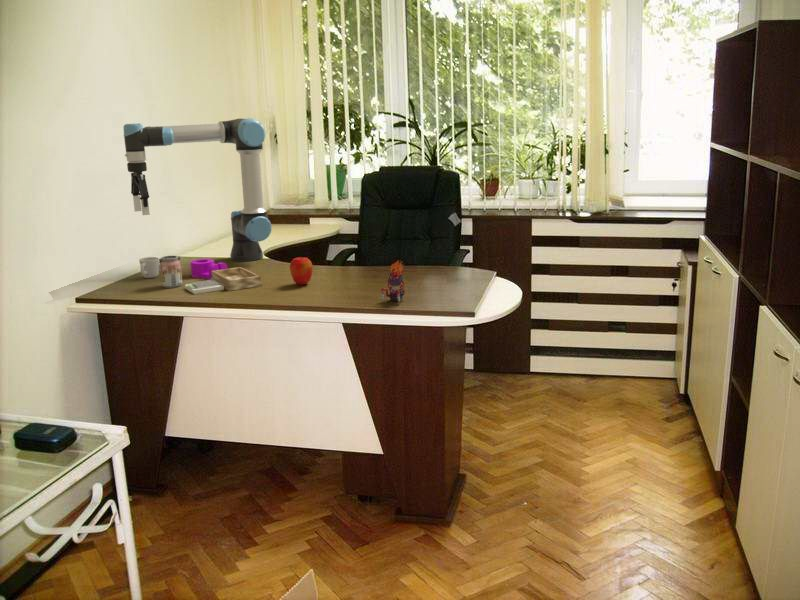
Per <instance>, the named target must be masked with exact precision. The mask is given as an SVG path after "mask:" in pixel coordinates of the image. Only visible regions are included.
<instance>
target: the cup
mask: <svg viewBox="0 0 800 600" xmlns="http://www.w3.org/2000/svg"><path fill="white" fill-rule="evenodd" d="M159 259H160V258H159V257H157V256H149V257H148V256H146V257H143V258H139V265H140V273H141V274H142V277H143V278H145V279H153V278H158V277H159V273H160V272H159V271H160V263H159Z"/></svg>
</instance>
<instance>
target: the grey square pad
mask: <svg viewBox="0 0 800 600" xmlns="http://www.w3.org/2000/svg"><path fill="white" fill-rule="evenodd" d="M190 284H191V285H192V286H194V287H195V288H197V289H199V288H206V287H212V286H217V283H215V282H214V281H212V280H211V279H206V280H200V281H193V282H192V281H191V282H190Z"/></svg>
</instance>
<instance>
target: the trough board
mask: <svg viewBox="0 0 800 600" xmlns="http://www.w3.org/2000/svg"><path fill="white" fill-rule="evenodd" d="M211 272H212V278H211V279H210V280H212V281H217V282H218V283H220V284H221V285H223V286H224V290H227V291H229V292H230V291H236V290H237V291H238V290H242V289H248V288H256V287H263V283H262V280H261V276H260V275H258V274H257V273H254V272H252V271H250V270H248V269H247V268H244V267H243V266H238V267H231V268H227V269H223V270H216V271H211Z"/></svg>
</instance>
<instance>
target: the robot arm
mask: <svg viewBox="0 0 800 600" xmlns="http://www.w3.org/2000/svg"><path fill="white" fill-rule="evenodd" d="M123 139H124V146H125V154H124V156H125V158H126V161H127V163H126V164H127V165H126V166H127V171H128V172H129V173H130V177H131V179H130V180H131V183H130V184H131V185H130V190H131V191H130V193H131V194H132V195H131V196H132V197H133V198H132V199H133V206H134V207H133V208H134V212H141V214H142V216H148V215H151V214H150V205H149V204H150V203H149V198H150V193H149V190H148V185H147V184H148V183H147V181H146V175H145V174H143V172H147V171H148V168H147V162H146V161H147V158H146V149H145V148H146V147H166V146H172V145H173V144H188V143H189V144H190V143H206V142H207V143H210V142H220V143H221V144H233V145H235V150H236V152H238V154H239V158H240V160H239V161H240V170H241V172H240V173H241V185H242V196H243V197H242V198H243V208H242V210H234V211H232V212H231V213H230V222H231V223H230V224H231V230H232V231H231V232H232V245H231V246H232V247H231V251H230V257H229V258H230V260H231V261H233V262H253V261H258V260H262V259H263V258H264V252H263V250H262V248H261V245H260V243H259V242H264V241H266V240H267V239H268V238H269V237H270V236H271V233H272V230H273V229H272V227H273V226H272V223H271V221H270V219H269V218H268V210H267V209H266V208H265V207H264V198H263V184H262V183H263V182H262V169H261V157H260V156H261V155H260V153H262V151H263V150H264V149H263V148H264V147H263V142H264V141H265V139H266V130H265V128H264V125H263V124H262V123H261V122H260V121H258V120H256V119H253V118H234V119H231V120H223V121H222V120H221V121H219V122H217V123H210V124H209V123H208V124H207V123H206V124H205V123H204V124H188V125H187V124H184V125H165V126H164V125H163V126H145V127H143V124H142V123H125V124H124V125H123Z"/></svg>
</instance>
